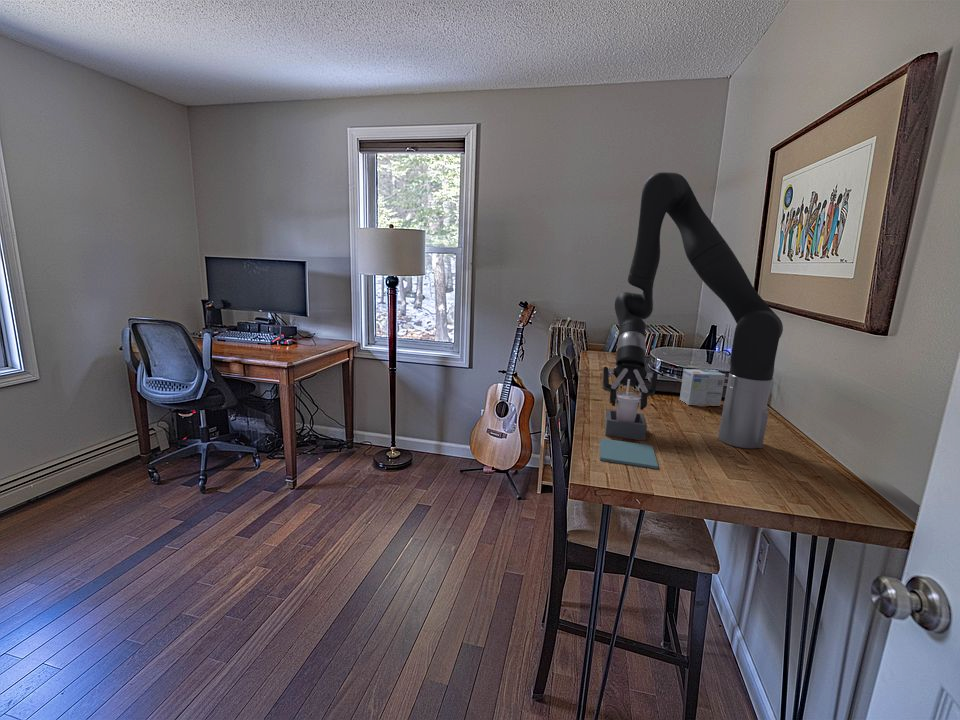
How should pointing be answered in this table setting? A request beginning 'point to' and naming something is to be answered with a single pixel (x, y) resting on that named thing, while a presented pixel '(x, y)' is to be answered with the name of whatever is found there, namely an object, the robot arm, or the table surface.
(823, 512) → the table surface
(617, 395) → the smoothie
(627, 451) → the coaster
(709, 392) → the light bulb box
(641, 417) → the frame
